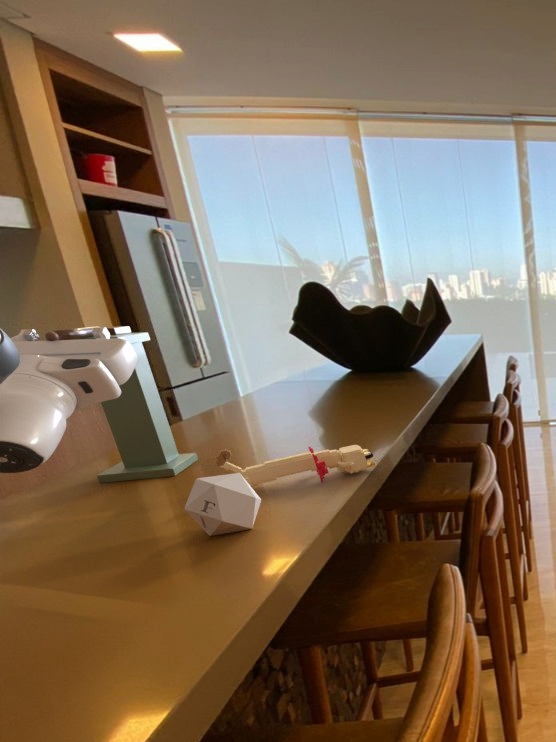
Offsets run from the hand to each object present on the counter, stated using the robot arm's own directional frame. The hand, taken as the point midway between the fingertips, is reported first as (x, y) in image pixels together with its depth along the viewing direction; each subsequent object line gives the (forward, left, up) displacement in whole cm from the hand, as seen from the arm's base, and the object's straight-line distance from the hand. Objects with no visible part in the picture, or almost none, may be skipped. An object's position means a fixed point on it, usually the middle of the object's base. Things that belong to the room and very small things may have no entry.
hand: (67, 331), depth 93 cm
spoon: (0, +5, -1) cm, 5 cm away
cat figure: (+31, -8, -27) cm, 42 cm away
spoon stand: (0, +9, -27) cm, 29 cm away
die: (+25, -30, -27) cm, 48 cm away
